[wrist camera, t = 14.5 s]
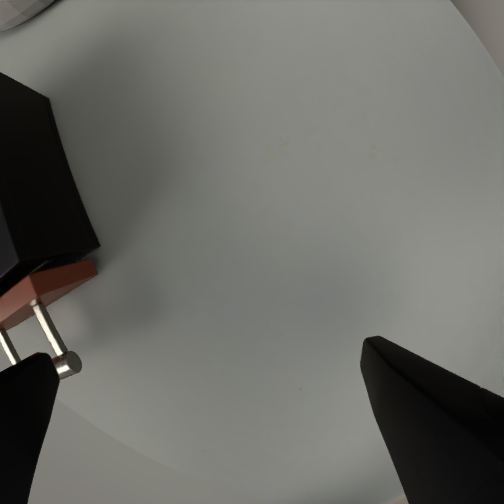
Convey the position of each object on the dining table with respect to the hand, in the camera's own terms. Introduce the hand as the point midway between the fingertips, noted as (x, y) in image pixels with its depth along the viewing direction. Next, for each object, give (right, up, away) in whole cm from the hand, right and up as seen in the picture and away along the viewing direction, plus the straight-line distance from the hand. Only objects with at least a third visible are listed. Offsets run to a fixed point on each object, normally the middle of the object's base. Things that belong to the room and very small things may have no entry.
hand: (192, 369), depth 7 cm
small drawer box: (-17, +7, +12) cm, 22 cm away
